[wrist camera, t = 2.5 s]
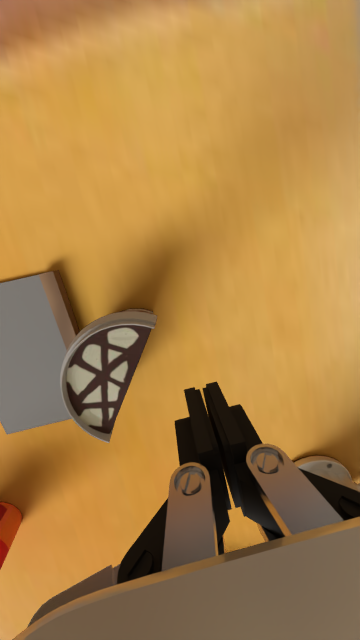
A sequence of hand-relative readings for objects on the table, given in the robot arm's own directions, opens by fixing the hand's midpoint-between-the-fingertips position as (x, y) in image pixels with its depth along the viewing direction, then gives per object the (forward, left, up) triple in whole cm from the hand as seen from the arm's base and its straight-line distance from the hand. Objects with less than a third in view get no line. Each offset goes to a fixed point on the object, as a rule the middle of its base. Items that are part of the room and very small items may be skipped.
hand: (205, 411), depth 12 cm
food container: (+8, 0, -18) cm, 20 cm away
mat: (+19, 0, -18) cm, 26 cm away
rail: (+12, 0, -18) cm, 22 cm away
